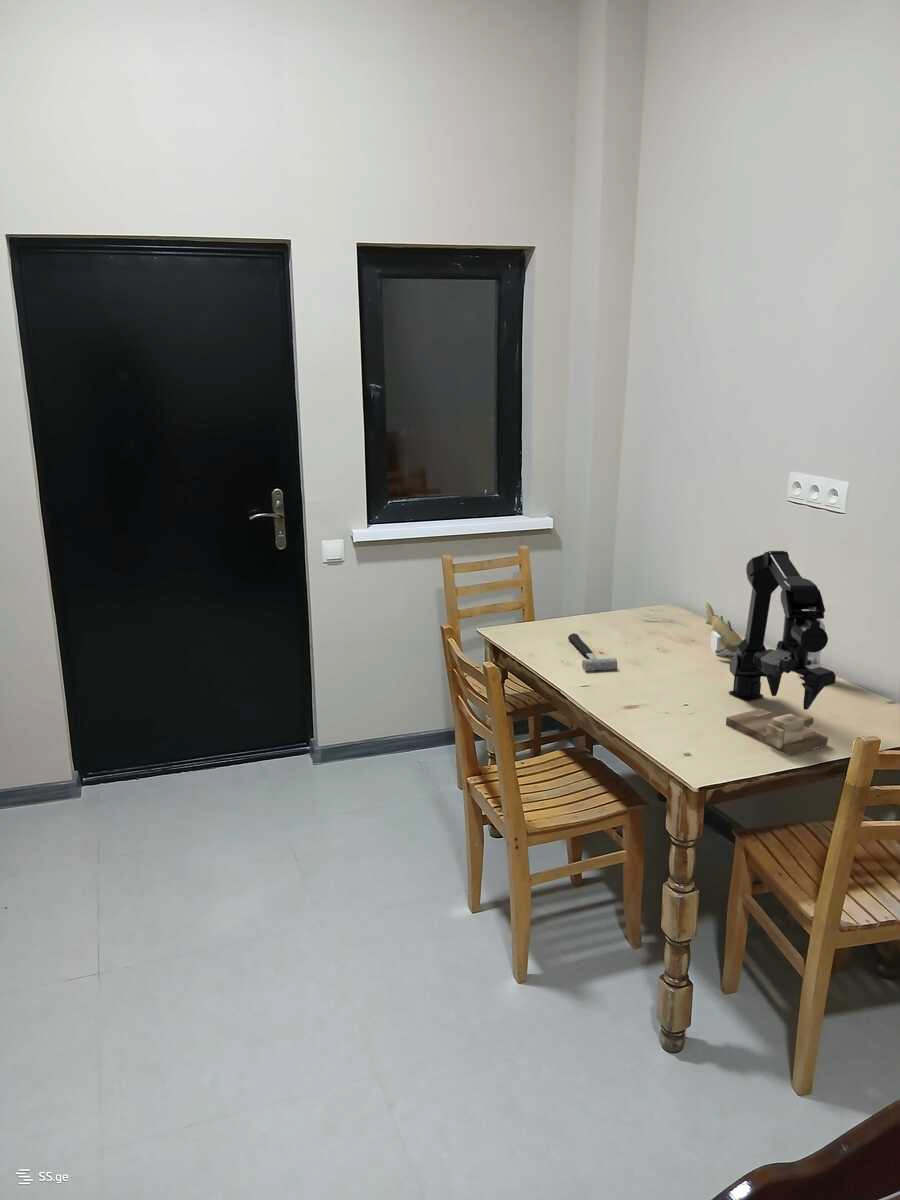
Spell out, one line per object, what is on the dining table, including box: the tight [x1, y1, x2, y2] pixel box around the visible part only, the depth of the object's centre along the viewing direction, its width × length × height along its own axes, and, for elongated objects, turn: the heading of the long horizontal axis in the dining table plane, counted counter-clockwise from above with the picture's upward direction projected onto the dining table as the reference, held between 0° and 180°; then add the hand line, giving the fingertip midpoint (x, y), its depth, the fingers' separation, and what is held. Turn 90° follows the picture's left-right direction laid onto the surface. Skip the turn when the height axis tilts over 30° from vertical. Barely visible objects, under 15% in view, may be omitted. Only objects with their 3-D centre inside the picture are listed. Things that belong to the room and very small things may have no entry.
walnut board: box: [725, 708, 829, 757], centre depth 201 cm, size 20×12×2 cm, turn 27°
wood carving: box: [705, 601, 744, 657], centre depth 261 cm, size 9×35×11 cm, turn 179°
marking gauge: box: [766, 713, 814, 749], centre depth 194 cm, size 4×12×6 cm, turn 117°
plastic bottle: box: [796, 609, 826, 678], centre depth 236 cm, size 6×7×20 cm
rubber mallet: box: [567, 633, 618, 672], centre depth 259 cm, size 10×4×30 cm
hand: (789, 702), depth 192 cm, fingers open, 9 cm apart
